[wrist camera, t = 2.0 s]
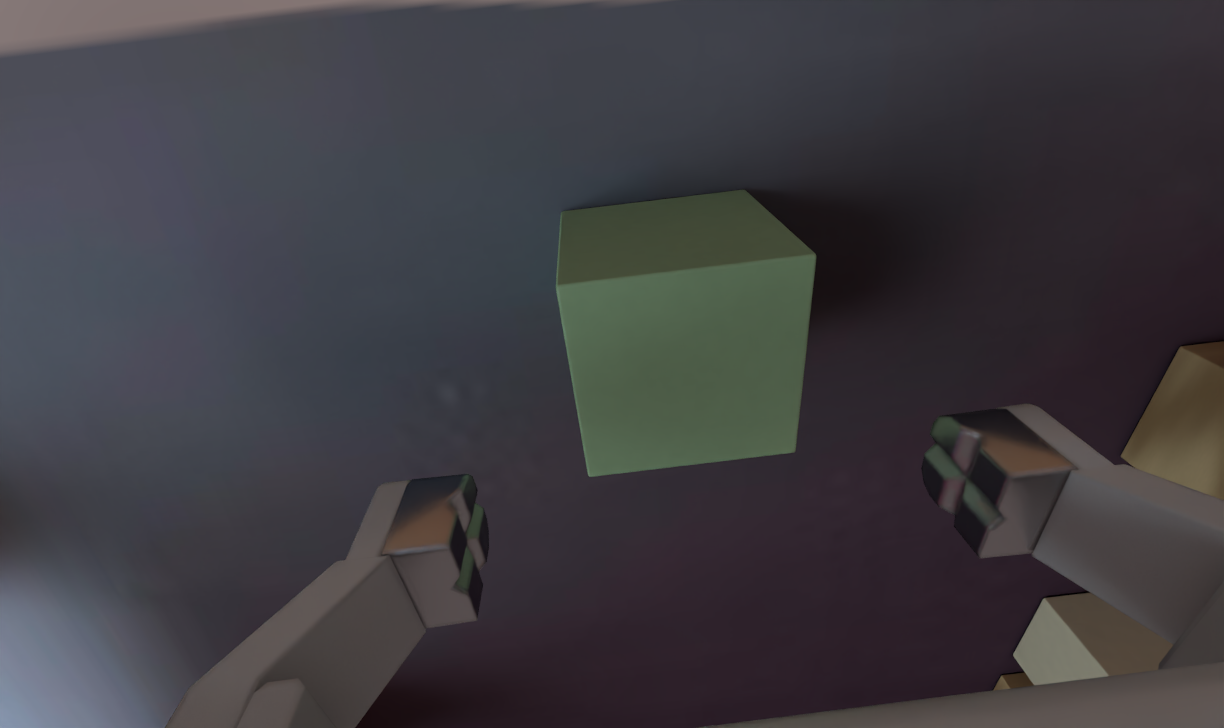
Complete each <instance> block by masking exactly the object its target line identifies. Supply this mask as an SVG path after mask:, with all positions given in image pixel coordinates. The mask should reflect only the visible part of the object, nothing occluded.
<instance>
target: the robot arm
mask: <svg viewBox="0 0 1224 728" xmlns="http://www.w3.org/2000/svg"><path fill="white" fill-rule="evenodd" d="M930 435H931V437H932V438H933V440H934V441H935V442H936V443H935V444H934V445H933V446H932V447H931V448H930V449H929V450H928V451H927V452H926V453H925V454H924V459H923V464H922V468H921V469H922V475H923V481H924V485H925V487H926V489H927V491H928V493H929V495H930V496H931V498H932V499H933V500H934V502H935V503H936V504H937V506H938V507H940V508H942V509H944V510H946V511H948V512H950V513H952V514H954V515H955V520H954V527H955V528H956V530H957V531H958V532H959V533H960V535H961V536H962V537H963V538H964V540H965V541H966V542H967V543H968V544H969V546H970V547H971V548H972V549H973V551H974V552H975V553H976V554H977V556H978V557H979V558H986V557H997V556H1007V555H1018V554H1028V553H1033V554H1032V556H1033V557H1034V558H1036V559H1038V560H1039V561H1041V562H1042V563H1044V564H1046V565H1047V566H1049V567H1050V568H1052V569H1054V570H1055V571H1057V572H1058V573H1060V574H1062V575H1063V576H1065V577H1066V578H1068V579H1070V580H1071V581H1073V582H1074V583H1076V584H1078V585H1079V586H1081V587H1082V588H1084V589H1086V590H1087V591H1089V592H1090V593H1092V594H1093V595H1095V596H1097V597H1098V598H1100V599H1101V600H1103V601H1105V602H1106V603H1108V604H1109V605H1111V606H1113V607H1114V608H1116V609H1117V610H1119V611H1121V612H1122V613H1124V614H1125V615H1127V616H1129V617H1130V618H1132V619H1133V620H1135V621H1137V622H1138V623H1140V624H1141V625H1143V626H1145V627H1146V628H1148V629H1149V630H1151V631H1152V632H1154V633H1156V634H1157V635H1159V636H1160V637H1162V638H1164V639H1165V640H1167V641H1168V642H1170V643H1172V644H1173V647H1172V648H1171V649H1170V650H1169V652H1168V653H1167V654H1166V655H1165V657H1164V658H1163V659H1162V661H1161V662H1160V663H1159V667H1158V670H1154V671H1146V672H1138V673H1130V674H1122V675H1114V676H1106V677H1098V678H1090V679H1082V680H1074V681H1066V682H1058V683H1050V684H1042V685H1034V686H1026V687H1018V688H1010V689H1002V690H994V691H986V692H978V693H970V694H962V695H953V696H945V697H937V698H929V699H921V700H913V701H905V702H897V703H889V704H881V705H873V706H865V707H857V708H849V709H841V710H833V711H825V712H818V713H810V714H802V715H794V716H786V717H778V718H770V719H762V720H754V721H746V722H738V723H730V724H722V725H714V726H707V727H699V728H1224V500H1221V499H1219V498H1216V497H1213V496H1210V495H1208V494H1205V493H1202V492H1199V491H1197V490H1194V489H1191V488H1188V487H1186V486H1183V485H1180V484H1177V483H1175V482H1172V481H1169V480H1166V479H1164V478H1161V477H1158V476H1155V475H1153V474H1150V473H1147V472H1144V471H1142V470H1139V469H1136V468H1133V467H1131V466H1128V465H1125V464H1122V465H1114V464H1112V463H1111V462H1110V461H1108V460H1107V459H1106V458H1104V457H1103V456H1102V455H1101V454H1099V453H1098V452H1097V451H1095V450H1094V449H1093V448H1091V447H1090V446H1089V445H1088V444H1086V443H1085V442H1084V441H1082V440H1081V439H1080V438H1078V437H1077V436H1076V435H1075V434H1073V433H1072V432H1071V431H1069V430H1068V429H1067V428H1065V427H1064V426H1063V425H1062V424H1060V423H1059V422H1058V421H1056V420H1055V419H1054V418H1052V417H1051V416H1050V415H1049V414H1047V413H1046V412H1045V411H1043V410H1042V409H1041V408H1039V407H1037V406H1034V405H1031V404H1021V405H1014V406H1007V407H999V408H997V409H988V410H980V411H973V412H965V413H957V414H950V415H942V416H939V417H938V418H937V419H936V420H935V421H934V423H933V425H932V429H931V432H930ZM476 496H477V487H476V484H475V482H474V479H473V476H471V475H469V474H462V475H452V476H441V477H431V478H421V479H412V480H407V481H397V482H387V483H383V484H382V485H380V486H379V487H378V488H377V490H376V492H375V494H374V496H373V498H372V501H371V503H370V505H369V508H368V510H367V512H366V514H365V517H364V519H363V521H362V523H361V526H360V528H359V530H358V532H357V535H356V537H355V539H354V542H353V544H352V546H351V548H350V551H349V553H348V555H347V557H346V560H345V561H337V562H335V563H334V564H333V565H332V566H330V567H329V568H328V569H327V570H326V571H325V572H323V573H322V574H321V575H320V576H319V577H318V578H316V579H315V580H314V581H313V582H312V583H311V584H310V585H308V586H307V587H306V588H305V589H304V590H303V591H301V592H300V593H299V594H298V595H297V596H296V597H294V598H293V599H292V600H291V601H290V602H289V603H287V604H286V605H285V606H284V607H283V608H282V609H280V610H279V611H278V612H277V613H276V614H275V615H273V616H272V617H271V618H270V619H269V620H268V621H266V622H265V623H264V624H263V625H262V626H261V627H259V628H258V629H257V630H256V631H255V632H254V633H252V634H251V635H250V636H249V637H248V638H247V639H245V640H244V641H243V642H242V643H241V644H240V645H239V646H237V647H236V648H235V649H234V650H233V651H232V652H230V653H229V654H228V655H227V656H226V657H225V658H223V659H222V660H221V661H220V662H219V663H218V664H216V665H215V666H214V667H213V668H212V669H211V670H209V671H208V672H207V673H206V674H205V675H204V676H202V677H201V678H200V679H199V680H198V681H197V682H195V683H194V684H193V685H192V686H191V687H190V688H188V690H187V692H186V693H185V695H184V697H183V698H182V700H181V702H180V703H179V705H178V707H177V708H176V710H175V712H174V713H173V715H172V717H171V718H170V720H169V722H168V723H167V725H166V727H165V728H355V727H356V726H357V724H358V723H359V722H360V720H361V719H362V718H363V716H364V715H365V714H366V712H367V711H368V710H369V708H370V707H371V705H372V704H373V703H374V701H375V700H376V699H377V697H378V696H379V695H380V693H381V692H382V691H383V689H384V688H385V686H386V685H387V684H388V682H389V681H390V680H391V678H392V677H393V676H394V674H395V673H396V672H397V670H398V669H399V667H400V666H401V665H402V663H403V662H404V661H405V659H406V658H407V657H408V655H409V654H410V653H411V651H412V650H413V648H414V647H415V646H416V644H417V643H418V642H419V640H420V639H421V638H422V636H423V635H424V634H425V632H426V630H425V628H431V627H438V626H444V625H451V624H457V623H464V622H470V621H477V618H478V612H479V606H480V600H481V594H482V588H483V583H482V580H481V577H480V574H479V572H478V571H479V570H480V569H481V568H482V567H483V566H484V565H485V563H486V562H487V557H488V550H489V530H488V524H487V518H486V515H485V512H484V508H482V507H481V506H479V505H478V504H476V503H475V501H476Z"/></svg>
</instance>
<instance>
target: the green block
mask: <svg viewBox="0 0 1224 728" xmlns="http://www.w3.org/2000/svg"><path fill="white" fill-rule="evenodd" d="M815 266H816V254H815V253H814V252H813V251H812V250H811V249H810V248H808V247H807V246H806V245H805V244H804V243H803V242H802V241H801V240H800V239H799V238H797V237H796V236H795V235H794V234H793V233H792V232H791V231H790V230H789V229H788V228H786V227H785V226H784V225H783V224H782V223H781V222H780V221H779V220H778V219H777V218H775V217H774V216H773V215H772V214H771V213H770V212H769V211H768V210H767V209H766V208H764V207H763V206H762V205H761V204H760V203H759V202H758V201H757V200H756V199H754V198H753V197H752V196H751V195H750V194H749V193H748V192H747V191H746V190H736V191H728V192H719V193H711V194H703V195H694V196H686V197H678V198H670V199H661V200H653V201H645V202H637V203H628V204H620V205H612V206H603V207H595V208H587V209H579V210H570V211H563V212H561V219H560V234H559V248H558V263H557V277H556V292H557V298H558V303H559V309H560V315H561V321H562V327H563V332H564V338H565V344H566V350H567V356H568V361H569V367H570V373H571V379H572V385H573V390H574V396H575V402H576V408H577V413H578V419H579V425H580V431H581V437H582V442H583V448H584V454H585V460H586V466H587V471H588V475H589V476H590V477H593V476H602V475H610V474H618V473H627V472H635V471H643V470H652V469H660V468H668V467H677V466H685V465H693V464H702V463H710V462H718V461H727V460H735V459H743V458H752V457H760V456H768V455H777V454H785V453H793V452H795V450H796V441H797V432H798V423H799V413H800V404H801V395H802V386H803V376H804V367H805V358H806V349H807V339H808V330H809V321H810V312H811V302H812V293H813V284H814V275H815Z"/></svg>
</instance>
